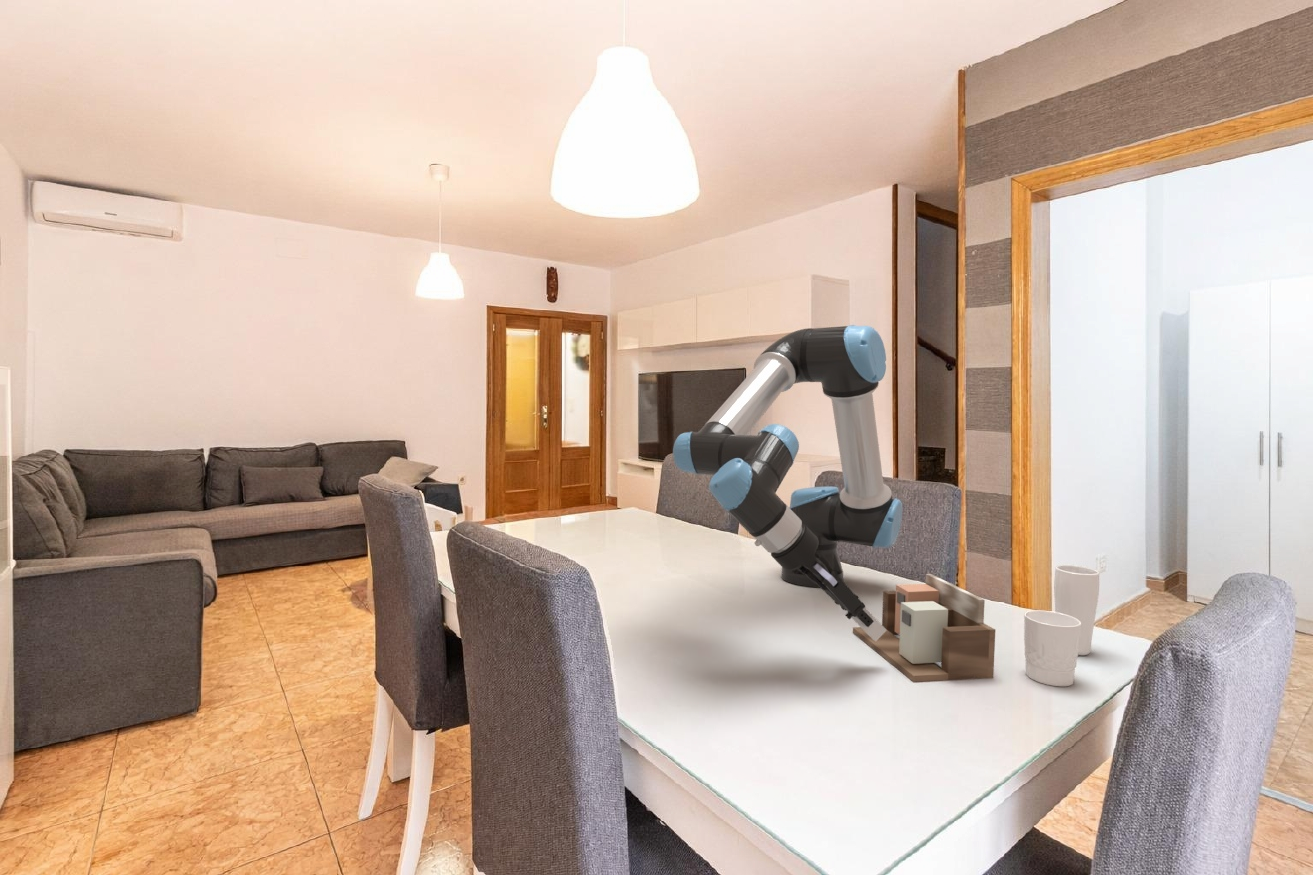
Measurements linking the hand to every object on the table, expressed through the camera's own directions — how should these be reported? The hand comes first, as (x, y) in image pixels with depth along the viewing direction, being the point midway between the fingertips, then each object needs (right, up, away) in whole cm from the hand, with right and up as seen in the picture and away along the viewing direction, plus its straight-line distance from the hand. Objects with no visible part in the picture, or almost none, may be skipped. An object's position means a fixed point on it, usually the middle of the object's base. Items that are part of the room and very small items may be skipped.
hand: (879, 634), depth 109 cm
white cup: (+27, -6, -3) cm, 28 cm away
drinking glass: (+38, -6, +9) cm, 40 cm away
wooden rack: (+8, -5, +7) cm, 12 cm away
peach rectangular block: (+11, -4, +12) cm, 17 cm away
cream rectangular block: (+8, -4, +1) cm, 9 cm away
